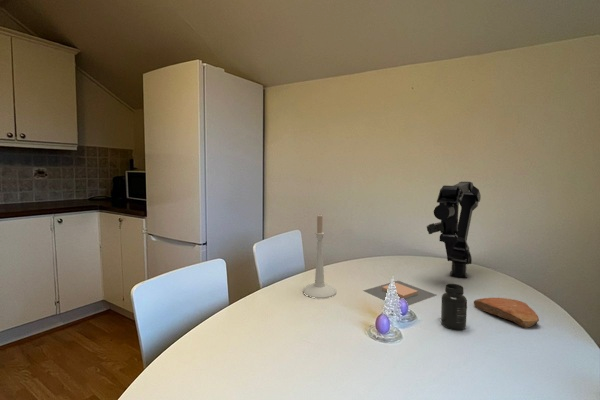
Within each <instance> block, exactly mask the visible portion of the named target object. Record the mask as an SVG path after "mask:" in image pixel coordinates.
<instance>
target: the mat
mask: <svg viewBox="0 0 600 400" xmlns="http://www.w3.org/2000/svg"><path fill="white" fill-rule="evenodd" d="M394 282H395V283H398V284H401V285H403V286H406V287H409V288H411V289H414V290H417V291H418V295H416V296H413V297H410V298H407V299H405V300H406V301H407V303H408V306H412V305H414V304H417V303H420V302H423V301H425V300H427V299H431V298H434V297H435V296H438V295H437V294H436V293H433V292H430V291H427V290H425V289H423V288H419V287H416V286H415V285H412V284H408V283H406V282H403V281H400V280H395V281H394ZM390 283H391V282H388V283H384V284H381V285H378V286H374V287H371V288H367V289H364V290H362V292H365V293H367V294H369V295H372V296H374V297H376V298H378V299H380V300H382V301H384V300H385V297H386V292H384V291H382V287H383V286H387V285H389V284H390ZM408 306H407V307H408Z"/></svg>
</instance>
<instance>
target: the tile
mask: <svg viewBox="0 0 600 400" xmlns="http://www.w3.org/2000/svg"><path fill="white" fill-rule="evenodd" d="M388 286H389V285H387V286H383V287H382V291H384V292H386V293H387V289H388ZM395 286H396V289H397V294H398V296H399V297H400V298H404V299H407V298H410V297H413V296H416V295H418V291H417V290H414V289H411V288H409V287H406V286H403V285H401V284H398V283H395Z"/></svg>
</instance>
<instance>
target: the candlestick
mask: <svg viewBox="0 0 600 400" xmlns="http://www.w3.org/2000/svg"><path fill="white" fill-rule="evenodd" d="M316 224H317V225H316V232H315V233H314V234H315V236H316V237H315V238H316V239H317V241H316V254H315V255H316V257H315V259H316V260H315V273H314V274H315V276H314V283H311V284H308V285H306V286H304V287H303V289H302V293H303V292H304V293H305V294H306V295H308V296H311V297H315V298H326V299H330V298H329V297H331V298H333V297H335V296H336V295H337V289H336V288H335V287H334V286H332V285H331V284H328V283H325V274H324V272H325V271H324V254H323V253H324V251H323V250H324V249H323V247H324V246H323V238H324V234H325V232H323V215H322V214H319V215H317V217H316ZM334 295H335V296H334ZM332 296H333V297H332ZM315 298H314V299H315Z"/></svg>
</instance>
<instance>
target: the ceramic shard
mask: <svg viewBox="0 0 600 400" xmlns="http://www.w3.org/2000/svg"><path fill="white" fill-rule="evenodd" d="M473 305H474V308H475V309H478V310H481V311H484V312H486V313H489V314H491V315H493V316H498V317H500V318H503V319H504V320H508V321H510V322H513V323H515V324H516V325H519V326H520V327H521V328H525V329H526V328H531V327H533V326H534V325H537V324H538V322H539V321H540V318H539V315H538V314H537V313H536V311H535V310H533V309H532V308H531V307H530V305H528V304H527V303H525V302H523V301H521V300H517V299H511V298H507V297H506V298H505V297H485V298H478V299H475V300H473Z"/></svg>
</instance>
